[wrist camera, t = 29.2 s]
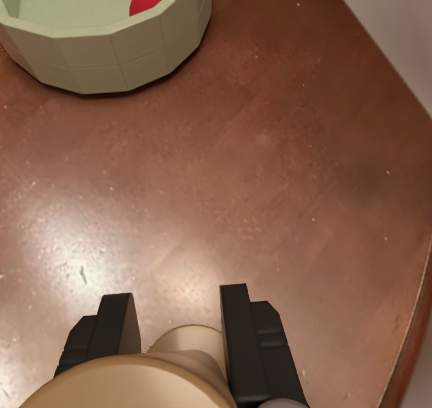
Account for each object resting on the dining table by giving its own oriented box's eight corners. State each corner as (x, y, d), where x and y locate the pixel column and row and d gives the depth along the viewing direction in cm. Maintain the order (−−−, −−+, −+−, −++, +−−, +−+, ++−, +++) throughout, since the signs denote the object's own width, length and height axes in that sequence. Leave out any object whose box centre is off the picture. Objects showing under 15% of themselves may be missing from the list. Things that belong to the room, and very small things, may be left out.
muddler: (237, 319, 18) (328, 217, 4) (252, 428, 16) (493, 893, 2) (140, 333, 18) (-134, 275, 4) (147, 444, 16) (-269, 1071, 2)
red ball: (184, -8, 24) (140, -29, 23) (175, 33, 24) (130, 14, 23) (170, 14, 27) (129, -3, 26) (161, 52, 26) (120, 36, 25)
